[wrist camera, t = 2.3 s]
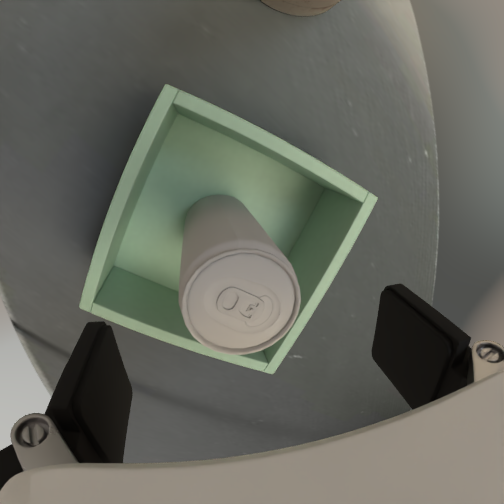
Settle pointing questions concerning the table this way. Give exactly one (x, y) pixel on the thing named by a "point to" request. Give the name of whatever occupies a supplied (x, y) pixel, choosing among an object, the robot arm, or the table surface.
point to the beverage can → (234, 279)
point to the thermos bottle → (301, 6)
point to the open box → (206, 184)
